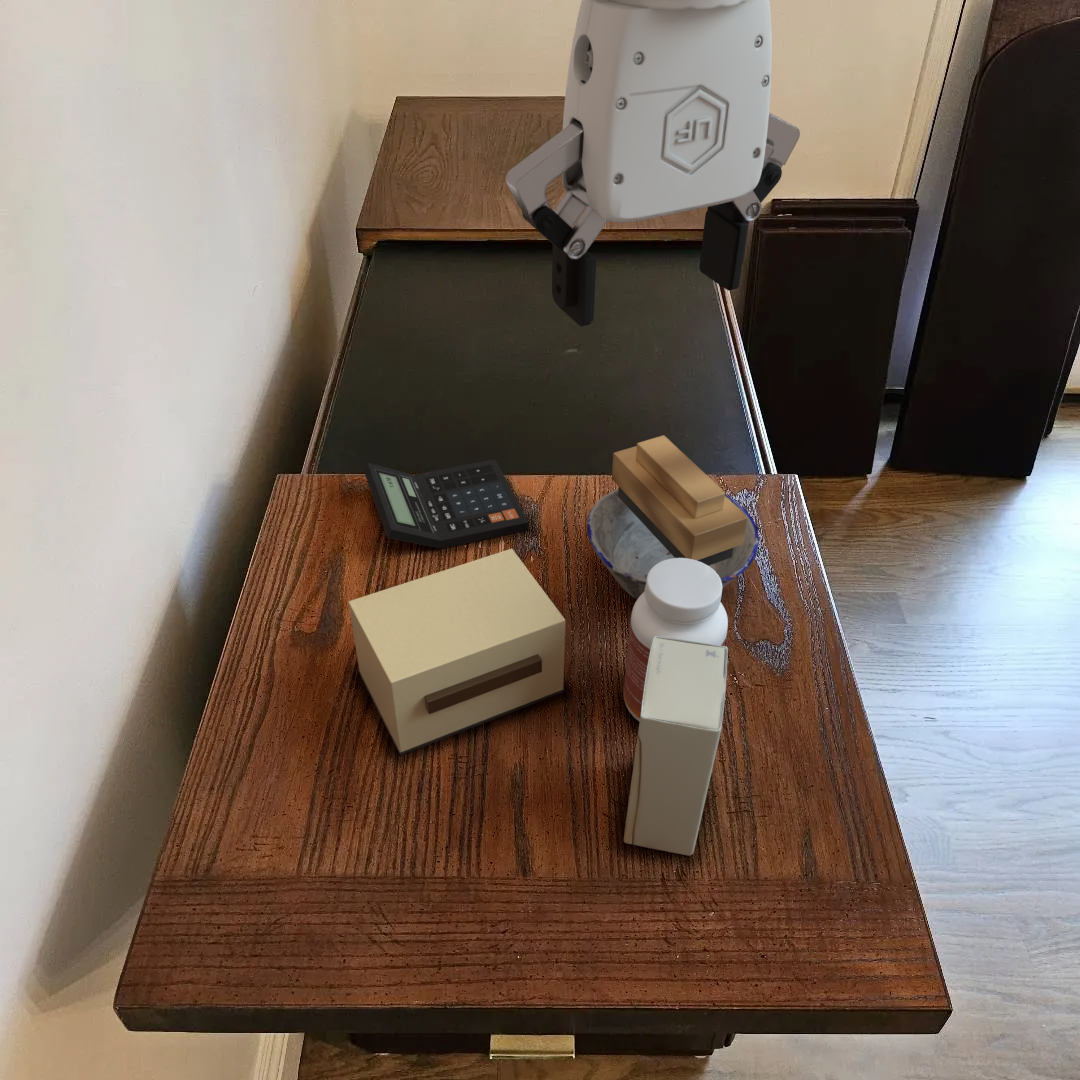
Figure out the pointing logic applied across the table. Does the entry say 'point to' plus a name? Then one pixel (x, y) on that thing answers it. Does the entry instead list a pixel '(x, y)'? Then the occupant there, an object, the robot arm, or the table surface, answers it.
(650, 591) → the pill bottle
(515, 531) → the calculator
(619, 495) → the brush
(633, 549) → the bowl
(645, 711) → the cosmetic box
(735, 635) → the table surface
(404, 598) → the bread box
